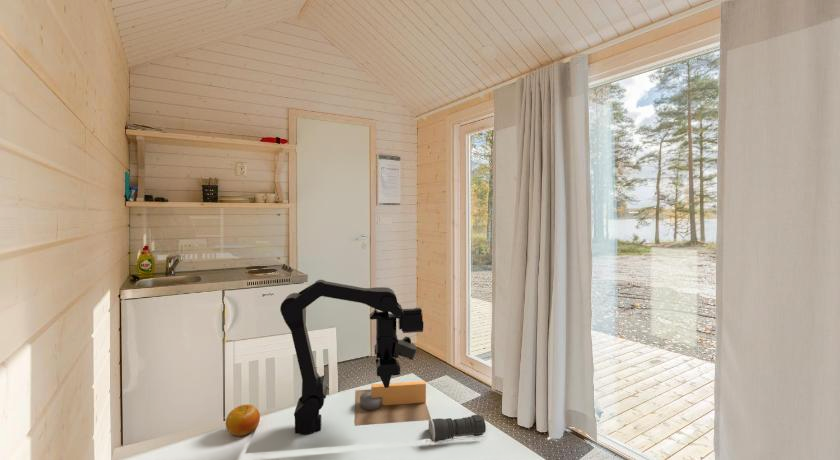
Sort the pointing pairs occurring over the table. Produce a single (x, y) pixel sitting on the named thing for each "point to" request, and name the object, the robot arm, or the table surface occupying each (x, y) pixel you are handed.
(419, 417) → the board
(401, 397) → the orange and grey block
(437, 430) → the flashlight
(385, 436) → the table surface
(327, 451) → the table surface
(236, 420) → the fruit
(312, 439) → the table surface
